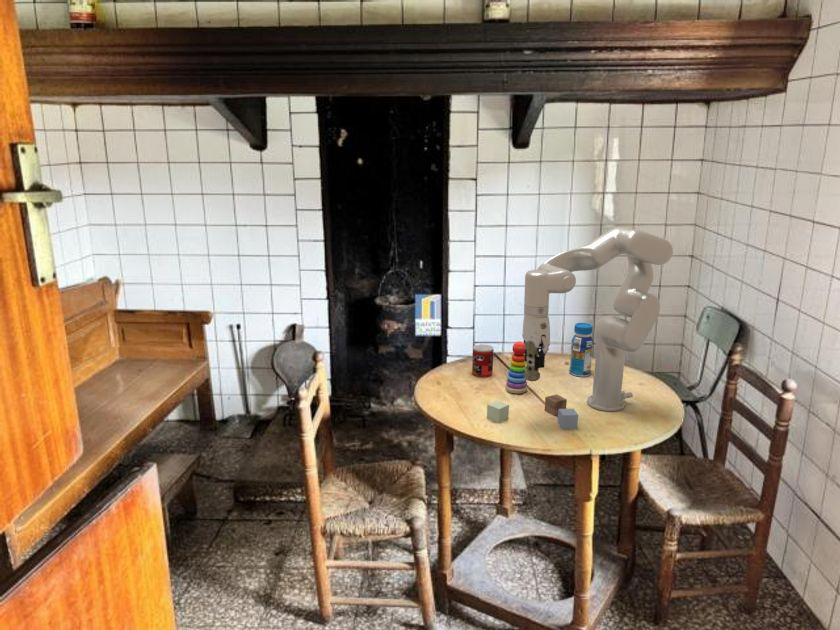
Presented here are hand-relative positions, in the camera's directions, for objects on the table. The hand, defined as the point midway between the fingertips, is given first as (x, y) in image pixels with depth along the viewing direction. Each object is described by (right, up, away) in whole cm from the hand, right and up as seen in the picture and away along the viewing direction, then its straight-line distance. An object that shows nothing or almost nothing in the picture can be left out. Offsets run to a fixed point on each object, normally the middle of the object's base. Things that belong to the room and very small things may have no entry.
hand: (534, 363), depth 203 cm
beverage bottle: (+26, -8, +48) cm, 55 cm away
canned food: (-12, -8, +46) cm, 48 cm away
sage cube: (-11, -19, +7) cm, 23 cm away
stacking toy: (-1, -12, +30) cm, 33 cm away
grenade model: (0, -5, +1) cm, 5 cm away
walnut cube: (+9, -17, +13) cm, 23 cm away
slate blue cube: (+11, -20, +2) cm, 23 cm away
